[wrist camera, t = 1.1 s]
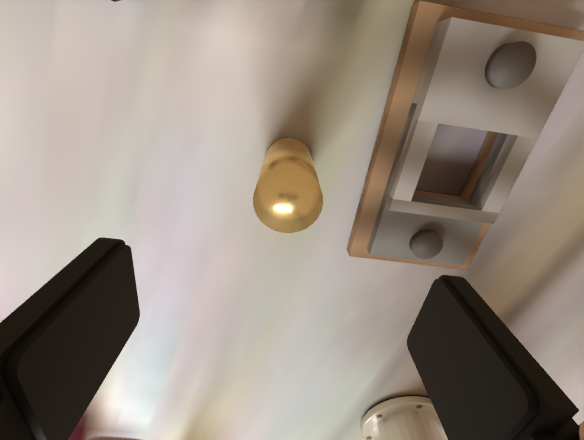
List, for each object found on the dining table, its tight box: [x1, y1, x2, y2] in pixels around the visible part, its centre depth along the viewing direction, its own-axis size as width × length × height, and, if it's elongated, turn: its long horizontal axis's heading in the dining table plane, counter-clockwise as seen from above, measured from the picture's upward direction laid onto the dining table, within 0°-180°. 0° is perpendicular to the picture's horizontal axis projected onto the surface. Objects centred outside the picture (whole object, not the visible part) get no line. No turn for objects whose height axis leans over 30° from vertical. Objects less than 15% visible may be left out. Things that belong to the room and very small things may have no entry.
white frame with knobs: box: [347, 1, 584, 270], centre depth 23 cm, size 20×12×4 cm, turn 172°
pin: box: [253, 138, 323, 233], centre depth 20 cm, size 4×4×9 cm
